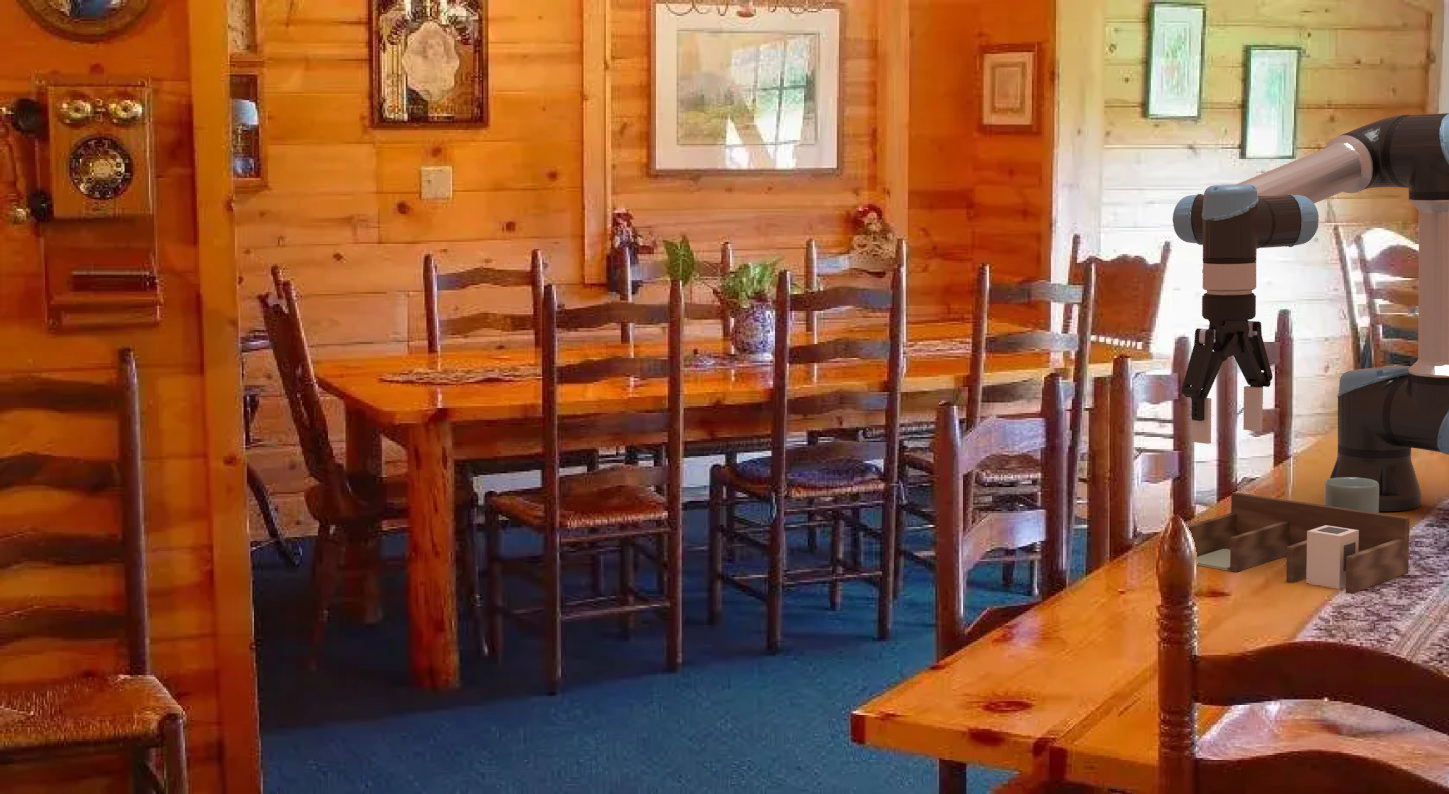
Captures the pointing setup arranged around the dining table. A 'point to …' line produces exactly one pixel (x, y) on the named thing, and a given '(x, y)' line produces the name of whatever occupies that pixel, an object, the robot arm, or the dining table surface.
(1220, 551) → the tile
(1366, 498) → the cup
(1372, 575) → the cubby
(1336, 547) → the white upright rectangular block
